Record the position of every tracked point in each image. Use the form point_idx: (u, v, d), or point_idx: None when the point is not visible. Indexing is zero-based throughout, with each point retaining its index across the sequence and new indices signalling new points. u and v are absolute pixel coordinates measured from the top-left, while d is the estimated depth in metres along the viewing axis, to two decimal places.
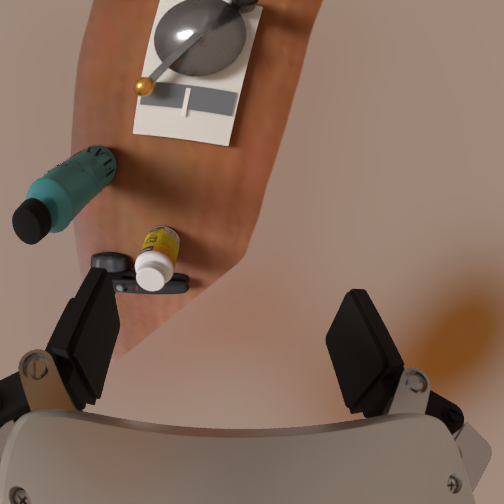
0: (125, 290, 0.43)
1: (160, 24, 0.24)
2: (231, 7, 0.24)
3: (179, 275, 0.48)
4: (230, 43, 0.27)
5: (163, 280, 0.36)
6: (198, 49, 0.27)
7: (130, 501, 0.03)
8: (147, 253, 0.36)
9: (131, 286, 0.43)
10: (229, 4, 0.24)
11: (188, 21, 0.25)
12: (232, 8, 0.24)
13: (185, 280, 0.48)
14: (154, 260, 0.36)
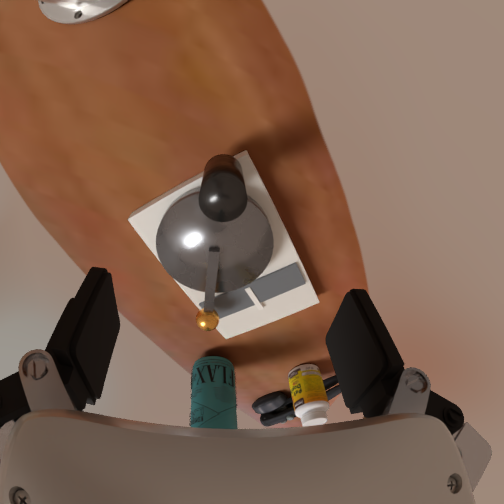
0: (295, 416, 0.47)
1: (164, 261, 0.27)
2: None
3: (330, 379, 0.48)
4: (254, 235, 0.26)
5: (325, 419, 0.37)
6: (227, 261, 0.27)
7: (130, 501, 0.03)
8: (302, 408, 0.38)
9: None
10: None
11: (188, 241, 0.26)
12: None
13: (337, 380, 0.48)
14: (310, 409, 0.38)
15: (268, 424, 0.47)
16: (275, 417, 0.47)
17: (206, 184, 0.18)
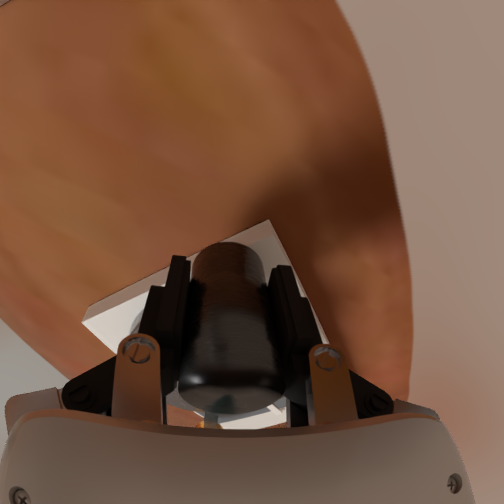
0: None
1: None
2: None
3: None
4: None
5: None
6: None
7: (130, 501, 0.03)
8: None
9: None
10: None
11: None
12: None
13: None
14: None
15: None
16: None
17: (192, 373, 0.07)
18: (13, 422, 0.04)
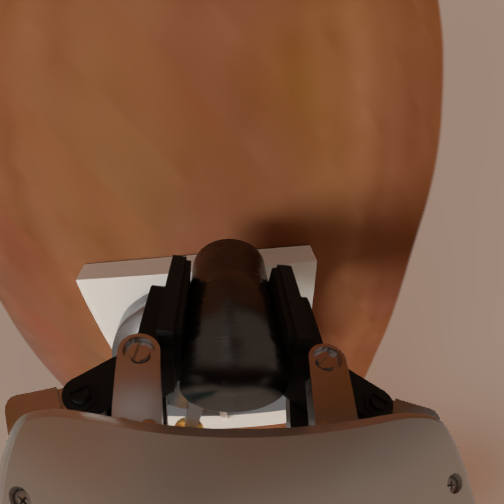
0: None
1: None
2: None
3: None
4: None
5: None
6: None
7: (130, 501, 0.03)
8: None
9: None
10: None
11: None
12: None
13: None
14: None
15: None
16: None
17: (198, 368, 0.07)
18: (13, 422, 0.04)
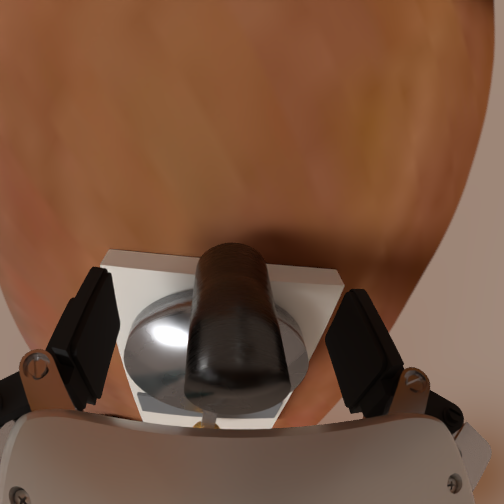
0: None
1: (140, 384, 0.16)
2: None
3: None
4: None
5: None
6: None
7: (130, 501, 0.03)
8: None
9: None
10: None
11: (174, 368, 0.15)
12: None
13: None
14: None
15: None
16: None
17: (199, 373, 0.07)
18: None
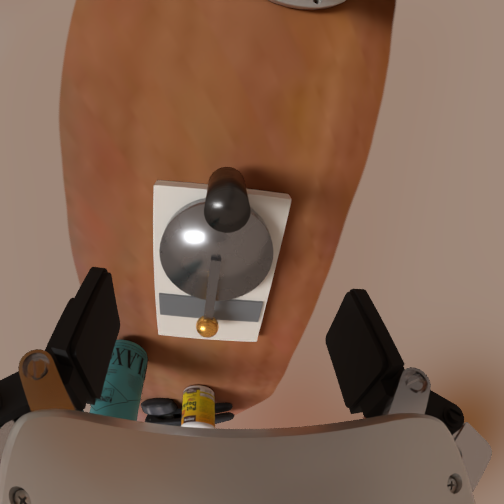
0: None
1: (166, 269, 0.28)
2: None
3: (223, 405, 0.48)
4: (255, 245, 0.27)
5: None
6: (228, 270, 0.28)
7: (130, 501, 0.03)
8: (192, 424, 0.38)
9: None
10: None
11: (191, 250, 0.27)
12: None
13: (229, 407, 0.48)
14: None
15: None
16: (160, 422, 0.44)
17: (211, 196, 0.19)
18: None
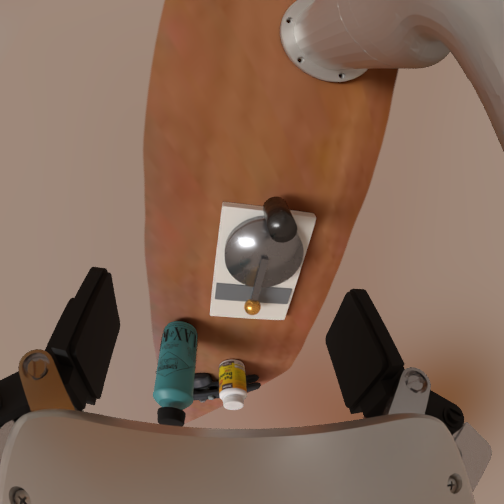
0: (215, 397, 0.58)
1: (228, 265, 0.40)
2: None
3: (251, 376, 0.61)
4: (292, 249, 0.40)
5: (242, 405, 0.50)
6: (272, 266, 0.41)
7: (130, 501, 0.03)
8: (230, 390, 0.50)
9: None
10: None
11: (248, 252, 0.39)
12: None
13: (256, 378, 0.61)
14: (235, 393, 0.51)
15: None
16: (198, 394, 0.57)
17: (275, 220, 0.31)
18: None
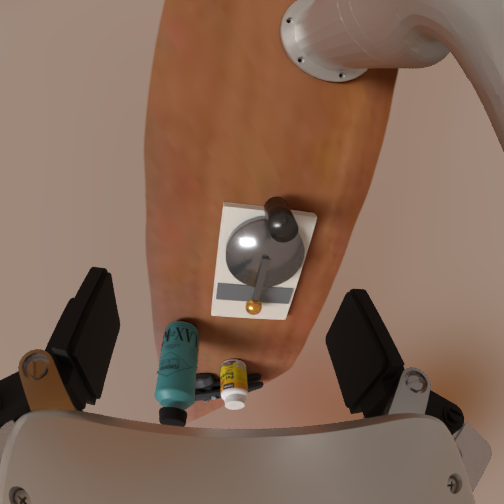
0: (218, 397, 0.58)
1: (229, 265, 0.40)
2: None
3: (254, 375, 0.61)
4: (293, 248, 0.40)
5: (244, 405, 0.50)
6: (273, 266, 0.41)
7: (130, 501, 0.03)
8: (231, 390, 0.51)
9: None
10: None
11: (249, 252, 0.39)
12: None
13: (259, 377, 0.61)
14: (236, 393, 0.51)
15: None
16: (201, 394, 0.58)
17: (276, 220, 0.31)
18: None
